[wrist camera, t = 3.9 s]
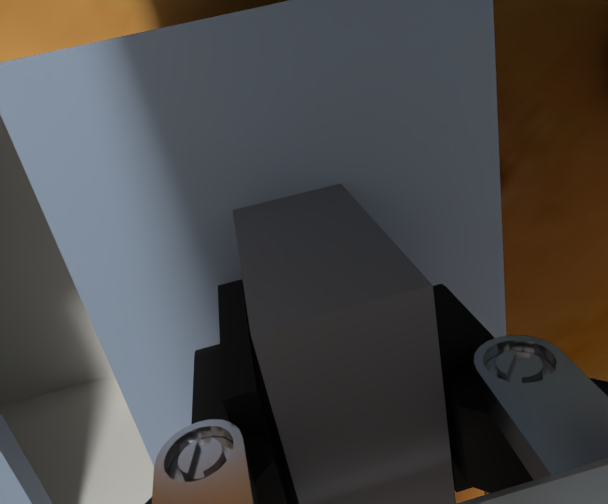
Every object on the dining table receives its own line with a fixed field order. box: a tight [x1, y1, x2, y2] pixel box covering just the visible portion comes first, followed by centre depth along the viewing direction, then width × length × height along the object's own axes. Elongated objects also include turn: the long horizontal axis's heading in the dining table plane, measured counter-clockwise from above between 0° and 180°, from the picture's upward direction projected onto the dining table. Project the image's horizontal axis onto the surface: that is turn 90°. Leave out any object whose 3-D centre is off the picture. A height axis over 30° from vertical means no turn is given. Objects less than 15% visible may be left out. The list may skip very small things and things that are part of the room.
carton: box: [0, 115, 154, 504], centre depth 16 cm, size 13×20×8 cm, turn 101°
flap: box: [0, 0, 506, 504], centre depth 10 cm, size 13×10×6 cm
